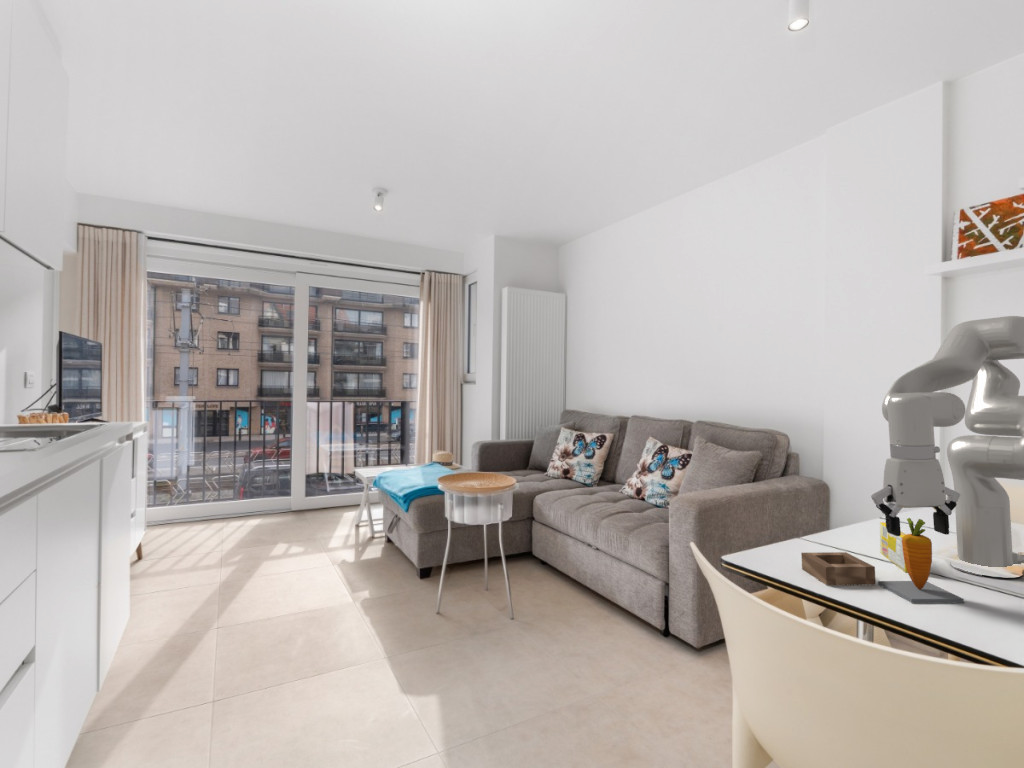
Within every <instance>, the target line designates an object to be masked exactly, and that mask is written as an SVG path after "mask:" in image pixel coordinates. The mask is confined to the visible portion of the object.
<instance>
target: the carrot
mask: <svg viewBox="0 0 1024 768" xmlns="http://www.w3.org/2000/svg"><path fill="white" fill-rule="evenodd" d="M906 521H907V523H908V527H909V530H910V533H906V535H905V536H904V537H903V538H902V547H903V555H904V561H905V565H906V568H907V571H908V573H907V575H909V578H910V581H912V582H913V583H914V585H915V586H916V587H917V588H918V589H919V590H920V589H922V588H923V587H924V585H925V584H926V582H928V580H929V578H930V574H931V569H932V562H933V561H932V560H933V546H932V545H933V543H932V539H931V538H929V537H928V536H925V535H923V533H924V532H926V529H925V528H924V529H923V528H922V527H923V526H924V525H926V522H925V521H924V520H923V519H921V518H918V519H917V521H916V523H915V526H914V521H913V520H912V518H910V517H908V518H906Z"/></svg>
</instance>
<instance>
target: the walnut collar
mask: <svg viewBox="0 0 1024 768" xmlns="http://www.w3.org/2000/svg"><path fill="white" fill-rule="evenodd" d="M800 556H801V569H802V570H803V572H805V573H807V574H809V575H810V576H812V577H813V578H814V579H816V580H818V581H820V582H821V583H823V584H824V585H825V586H876V585H877V584H876V583H877V582H876V567H875V566H874V565H872V564H870V563H868V562H866V561H864V560H862V559H860V558H858V557H857V556H854V555H852V554H851V553H848V552H846V551H843V552H841V551H839V552H838V551H837V552H834V551H831V552H829V551H827V552H825V551H824V552H801V555H800Z"/></svg>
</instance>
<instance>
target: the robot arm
mask: <svg viewBox="0 0 1024 768" xmlns="http://www.w3.org/2000/svg"><path fill="white" fill-rule="evenodd" d="M1021 359H1024V316H1020V315H1008V316H1007V315H1006V316H999V317H998V316H997V317H991V318H989V317H988V318H983V319H982V318H981V319H974V320H967V321H964V322H960V323H958V324H956V325H955V326H953V327H952V328H951V330H950V331H949V332H948V334H947V335H946V337H945V339H944V340H943V342H942V344H941V345H940V347H939V348H938V350H937V351H936V353H935V354H934V356H933V358H932V359H930V360H928V361H926V362H924V363H922V364H920V365H918V366H916V367H915V368H913V369H911V370H909V371H907V372H905V373H904V374H902V375H901V376H900V377H898V378H897V379H896V380H895V381H894V382H893V384H892V385H891V387H890V388H889V389H888V391H887V392H886V393H885V394H886V395H885V396H884V398H883V402H882V405H881V411H882V412H881V413H882V416H883V418H884V419H885V421H887V423H888V437H889V449H890V451H889V453H890V458H886V460H885V464H884V470H883V482H882V483H883V486H882V487H883V488H882V489H880V490H878V491H876V492H874V493H873V494H872V495H871V499H872V502H873V503H874V504H875V507H876V508H877V509H878V510H879V511H880V512H881V513H882V514H883V515H885V523H886V529H887V532H888V533H890V534H893V535H895V536H900V535H901V532H902V531H901V519H900V517H899V516H897V515H898V514H899V513H900V512H901V510H902V509H903V508H904V509H906V508H907V509H911V508H912V509H913V508H914V509H915V508H933V509H934V512H933V513H932V514H933V515H932V519H933V530H934V531H935V532H937V533H939V534H942V535H943V534H944V535H947V536H948V535H950V521H949V516H951V515H952V514H953V512H952V511H953V510H955V513H954V514H955V528H956V542H957V543H956V545H957V547H956V549H957V557H959V559H960V560H962V561H965V562H968V563H971V564H977V565H981V566H988V567H1007V566H1012V565H1013V564H1020V565H1021V564H1024V554H1018V553H1016V552H1013V540H1012V538H1013V537H1012V522H1011V521H1012V519H1011V503H1010V502H1011V501H1010V497H1009V495H1008V492H1007V491H1006V489H1005V488H1004V487H1003V486H1002V484H1001V483H1000V482H999V481H998V480H997V479H1007V480H1008V479H1009V480H1018V481H1024V395H1019V393H1020V388H1021V381H1020V379H1019V377H1018V376H1017V375H1016V374H1015V373H1014V372H1013V371H1011V369H1009V368H1008V367H1006V366H1005V365H1003V364H1002V363H1001V362H1000V361H1006V360H1008V361H1009V360H1021ZM970 381H972V383H971V389H970V393H969V396H968V401H967V405H965V402H964V401H963V400H962V399H961V397H959V396H958V395H957V394H955V393H954V394H953V393H951V392H945V391H944V392H943V390H946V389H947V390H948V389H951V388H954V387H958V386H961V385H963V384H966V383H968V382H970ZM941 391H942V392H941ZM963 419H964V424H965V427H966V428H967V429H968V430H969V431H970V432H972V433H975V435H974V434H973V435H969V434H968V435H967V434H966V435H962V436H957V437H955V438H953V439H952V440H950V442H948V445H947V448H946V455H947V461H948V464H949V468H950V471H951V476H952V480H953V481H952V482H953V489H951V488H949V487H947V486H946V484H945V477H944V473H943V469H942V465H941V463H940V461H939V459H937V458H936V457H937V455H936V454H937V453H940V451H941V448H940V447H939V446H936V440H935V428H949V427H952V426H953V427H954V426H956V425H958V424H959V423H960V422H961V421H962V420H963ZM934 427H935V428H934ZM976 434H977V435H976ZM946 496H947V497H946ZM885 503H886V504H885ZM951 567H952V568H954V569H956V570H959V571H961V572H964V573H968V574H971V575H975V576H981V577H983V576H982V575H979V574H975V573H972V572H968V571H964V570H961V569H958V568H955V567H953V566H951Z"/></svg>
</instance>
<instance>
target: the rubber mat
mask: <svg viewBox="0 0 1024 768" xmlns="http://www.w3.org/2000/svg"><path fill="white" fill-rule="evenodd" d="M877 583H878V586H880V587H881V588H884V589H885V590H888V591H889V592H891V593H892V594H895V595H896V596H899V597H900V598H901V599H903V600H905V601H907V602H909V603H911V604H964V602H965V599H964V598H963V597H960V596H959V595H957V594H954V593H952V592H950V591H948V590H945V589H944V588H941V587H939V586H937V585H935V584H934V583H931V582H929V581H927V582H926V584H925V585H924V587H923V588H922V589H920V590H919V589H918V588H917V587H916V586H915V585H914V583H913V582H912V580H878V581H877Z"/></svg>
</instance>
